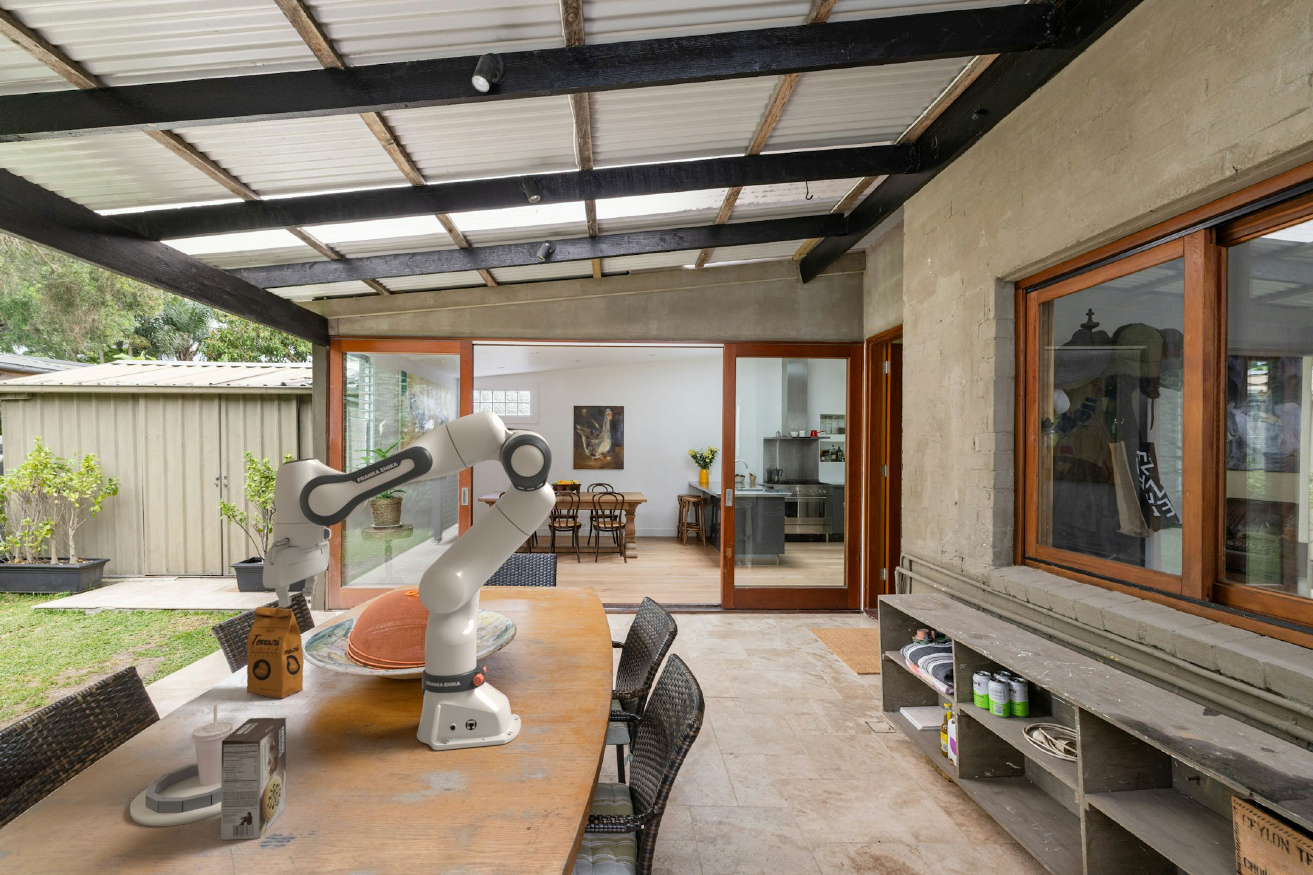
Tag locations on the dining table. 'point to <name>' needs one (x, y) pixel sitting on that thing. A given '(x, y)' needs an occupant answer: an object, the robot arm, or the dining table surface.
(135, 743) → the dining table surface
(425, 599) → the robot arm
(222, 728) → the smoothie
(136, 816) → the ring plate
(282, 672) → the coffee package
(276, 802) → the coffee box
